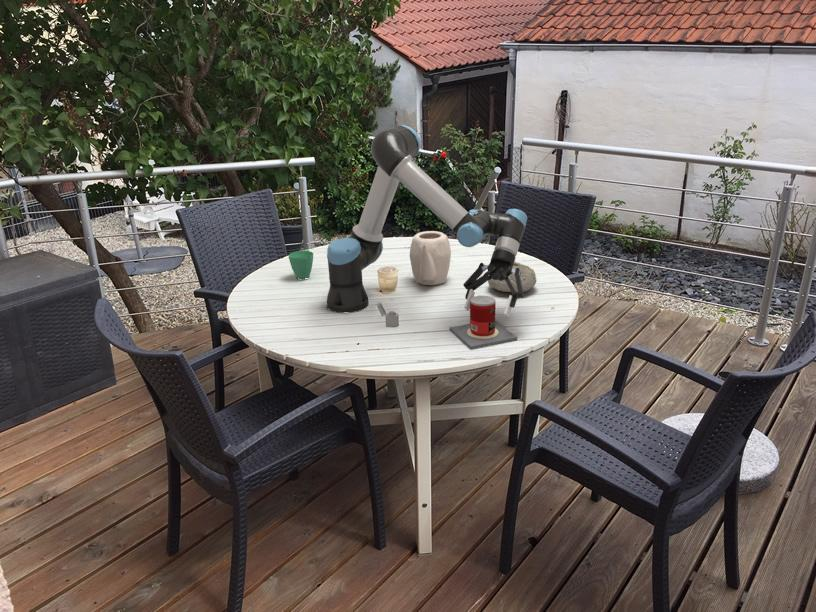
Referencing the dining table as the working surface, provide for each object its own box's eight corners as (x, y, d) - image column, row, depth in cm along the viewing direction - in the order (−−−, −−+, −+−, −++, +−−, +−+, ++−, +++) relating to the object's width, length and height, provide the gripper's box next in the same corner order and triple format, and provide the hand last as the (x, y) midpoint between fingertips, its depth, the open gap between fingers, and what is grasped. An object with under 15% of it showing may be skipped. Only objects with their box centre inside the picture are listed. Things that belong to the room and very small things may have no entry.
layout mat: (470, 349, 209) (470, 346, 209) (449, 330, 223) (449, 327, 223) (517, 340, 214) (517, 336, 214) (493, 321, 228) (493, 318, 228)
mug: (312, 282, 271) (309, 258, 268) (288, 282, 272) (285, 258, 269) (320, 270, 285) (318, 247, 281) (297, 270, 286) (295, 247, 282)
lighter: (399, 325, 228) (398, 303, 225) (397, 327, 227) (396, 305, 224) (378, 324, 230) (377, 302, 227) (377, 326, 228) (375, 304, 225)
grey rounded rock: (533, 281, 263) (534, 256, 259) (538, 298, 246) (539, 272, 243) (486, 282, 264) (486, 257, 261) (488, 299, 248) (488, 272, 244)
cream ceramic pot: (404, 294, 255) (402, 245, 248) (416, 270, 280) (415, 226, 273) (445, 295, 252) (445, 246, 246) (454, 271, 277) (454, 226, 270)
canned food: (494, 337, 214) (494, 304, 210) (468, 336, 215) (468, 303, 211) (496, 327, 221) (496, 295, 217) (471, 326, 222) (471, 294, 218)
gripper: (544, 263, 221) (526, 323, 214) (473, 254, 233) (454, 310, 226) (538, 252, 215) (520, 313, 208) (466, 243, 226) (447, 301, 220)
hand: (486, 312), depth 217 cm, fingers open, 13 cm apart
